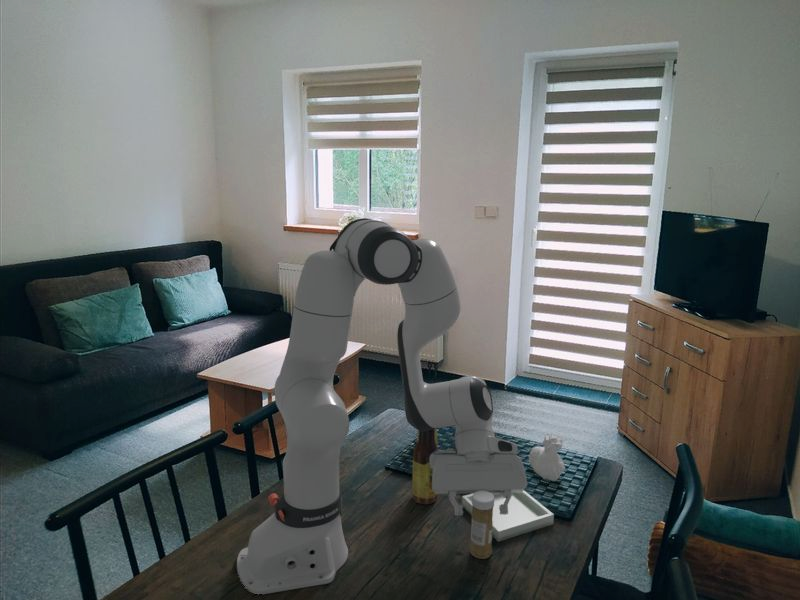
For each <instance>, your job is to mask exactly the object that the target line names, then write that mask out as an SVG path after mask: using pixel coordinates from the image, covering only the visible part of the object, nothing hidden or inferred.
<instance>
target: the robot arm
mask: <svg viewBox="0 0 800 600" xmlns="http://www.w3.org/2000/svg"><path fill="white" fill-rule="evenodd" d="M300 273H301V274H300V276H299V280H298V284H297V288H296V292H295V297H294V302H293V303H294V304H293V305H294V306H293V312H292V319H291V327H290V333H289V340H288V346H287V349H286V353H285V355H284V359H283V363H282V366H281V369H280V372H279V375H278V376H277V377H276V380H275V384H274V400H275V405H276V407H277V409H278V411H279V413H280V414H281V417H282V419H283V420H284V425H285V427H286V434H287V435H286V436H287V441H286V442H287V444H286V452H285V456H284V458H283V461H282V469H283V471H282V473H283V494H282V496H281V497H280V498H279V497H278V494H277V493H274V492H273V493H270V495H269V496H268V497H267V501H268V503H269V504H270V506H271V507H274V513H272V514H271V515H270V516H269V517H268V518H267V519H265V520H264V521H263V522H262V523H260V524H259V525H258V526H256V528H254V529H253V530H252V531H251V534H250V536H249V539H248V545H247V546H246V547H245V548H242V549H241V550H240V551H239V553H238V556H237V558H236V572H237V576H238V575H239V576H238V578H240V579H239V581H240V583H241V582H242V583H241V584H243V585H244V586H245V587H244V586H243V585H242V586H243V587H244V589H245V590H246V589H248V590H249V591H250V592H252V593H254V594H258V595H257V596H260V595H259V594H262V595H266V594H272V593H278V592H279V593H280V592H285V591H290V590H291V591H292V590H296V589H302V588H303V589H304V588H308V587H309V588H310V587H315V586H320V585H327V584H330V583H332V582H333V581H334V579H335V576H336V573H337V571H339V569H340V568H342V566H343V565H344V564H346V561H347V559H348V556H349V548H348V546H347V543H346V539H345V536H344V532H343V527H342V526H343V524H342V515H343V514H342V513H343V511H342V510H343V497H342V490H340V455H341V450H342V445H343V442H344V441H345V439H346V438H347V437H348V434H349V432H350V418H349V415H348V411H347V408H346V405H345V403H344V401H343V400H342V398H341V397H340V396H339V395H338V393H337V392H336V391H335V389H334V376H335V374H336V370H337V368H338V365H339V363H340V361H341V359H342V358H343V357H344V356H345V355H346V353H347V349H348V343H349V337H350V330H351V323H352V317H353V310H354V309H353V308H354V302H355V297H356V293H357V291H358V289H359V287H360V286H361V284H362V283H363V282H364V281H365V279H366V280H368V281H370V282H372V283H374V284H378V285H383V286H384V285H385V286H387V285H388V286H389V285H396V284H397V285H398V288H400V293H401V296H402V299H403V304H404V308H405V310H404V311H405V313H404V317H403V318H404V319H402V321H400V322H399V323H398V327H397V334H396V335H397V337H396V339H397V351H398V358H399V365H400V373H401V379H402V380H401V381H402V388H403V395H404V397H403V399H404V400H403V401H404V413H405V418H406V420H407V423H408V424H409V425H411V426H412V427H413V428H414V429H416V430H417V431H418V430H419V431H421V432H425V431H429V430H433V429H437V430H438V429H440V428H441V429H442V428H446V427H447V428H448V427H453V426H455V432H454V440H455V441H454V442H455V449H453V448H452V449H438V450H436V452H433V453H432V454H431V455H430V457H429V462H430V467H431V469H432V470H433V473H432V490H433V491H434V493H435V494H437V495H448V500H449V502H450V503H451V504H452V506H453V507H454V515H455V516H463V515H464V510H463V509H464V507H463V505H462V504H459V503H458V502H457V500H456V497H457V495H459V494H460V495H462V494H465V495H467V494H473V493H475V492H477V491H487V492H490V493H503V498H506V500H505V502H504V504H501V505H500V506H499V510H500V515H507V514H508V506H507V505H508V503H509V501H510V498H511V496H512V495H511V493H521V492H523V491H526V488H527V487H528V480H527V473H526V470H525V467H524V463H523V460H522V458H520V456H519V455H517V453H518V446H517V444H516V443H515V442H512V441H508V440H505V439H502V438H499V437H495V431H494V429H493V425H492V424H493V423H492V421H493V413H494V407H493V406H494V405H493V397H492V394H491V391H490V388H489V387H488V386H487V383H486V381H485V380H484V379H483V378H481V377H478V376H474V375H466V376H462V377H460V378H458V379H457V378H456V379H452V380H449V381H448V380H447V381H440V382H434V383H427V382H425V381H424V378H423V372H422V363H421V355H420V352H421V350H422V349H423V348H424V347H426V346H427V345H429V344H430V343H431V342H433V341H435V340H436V339H438V338H439V337H441V336H443V335H445V334H446V333H447V332H448V331H449V330H451V328H452V327H453V326H454V325H455V323H456V322H457V320H458V318H459V317H460V313H461V301H460V297H459V295H460V294H459V292H458V291H459V290H458V288H457V283H456V281H455V278H454V275H453V272H452V268H451V267H450V265H449V262H448V260H447V258H446V256H445V254H444V252H443V250H442V248H441V246H440V245H439V244H438V243H437V242H435V241H434V240H431V239H427V238H420V239H413V240H412V239H411V238H410V237H409V236H408V235H407V233H405V232H403V231H402V230H400V229H399V228H397V227H394V226H391V225H389V224H388V223H386V222H384V221H381V220H376V219H370V218H364V217H363V218H362V217H361V218H357V219H354V220H352V221H350V222H348V223H347V224H346V225H345V226H344V227H343V228H342V229H341V231H340V232H339V234H338V236H337V237H336V239H334V240H333V242H332V243H331V245H330V246H329V250H320V251H316V252H314V253H312V254H310V255H309V256H308V257H307V258H306V260H305V262H304V265H303V267H302V270H301V272H300ZM435 453H436V455H433V454H435ZM248 590H247V591H248ZM249 591H248V592H249ZM250 592H249V593H250ZM252 593H251V594H252ZM254 594H253V595H254Z"/></svg>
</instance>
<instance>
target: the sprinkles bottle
mask: <svg viewBox="0 0 800 600" xmlns="http://www.w3.org/2000/svg"><path fill="white" fill-rule="evenodd" d="M472 494H473V495H472V505H473V508H472V515H471V525H470V527H471V529H470V542H471V543H470V549H469V551H470V555H472V556H473V557H474V558H477V559H481V560H482V559H483V560H485V559H488V558H490V556H491V555H492V542H493V536H492V525H493V521H492V518H493V507H494V496H493V494H491V493H490V492H487V491H477V492H475V493H472Z"/></svg>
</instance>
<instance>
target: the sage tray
mask: <svg viewBox="0 0 800 600" xmlns="http://www.w3.org/2000/svg"><path fill="white" fill-rule="evenodd" d="M491 494H493V496H494V507H493V518H492V521H493V525H492V538H494V539H495V540H496V541H497V542H502V541H505V540H508V539H511V538H514V537H517V536H520V535H524V534H527V533H530V532H533V531H537V530H539V529H542V528H545V527H549V526H552V525H554V518H555V514H554V513H553V512H551V511H550V510H549V509H548V508H547V507H545V506H544V505H543V504H542V503H540V502H539V501H538V500H537V499H535V497H534V496H532V495H530V493H528V492H526V490H524V491H523V492H521V493H511V495H512V496H511V498H510V501H509V503H508V505H507V506H508V514H507V515H500V510H499V506H500V505H501V504H504V502H505V500H506V498H503V493H491ZM472 495H473V493H468V494H465V495H462V496H461V505H463V509H465V510H466V511H467V512H468V513H469V515H471V516H472V508H473V505H472Z"/></svg>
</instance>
